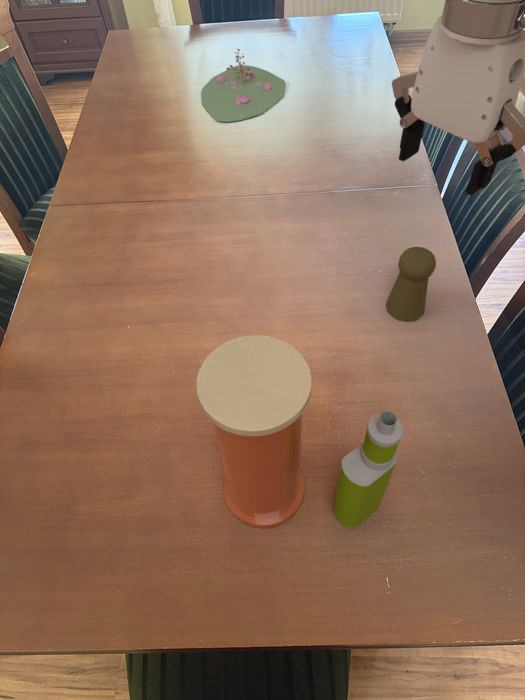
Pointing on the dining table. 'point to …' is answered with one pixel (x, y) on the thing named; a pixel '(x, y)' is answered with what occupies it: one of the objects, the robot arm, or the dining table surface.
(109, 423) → the dining table surface
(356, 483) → the vape
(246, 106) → the plant
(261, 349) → the column
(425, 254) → the olive pawn
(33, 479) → the dining table surface
